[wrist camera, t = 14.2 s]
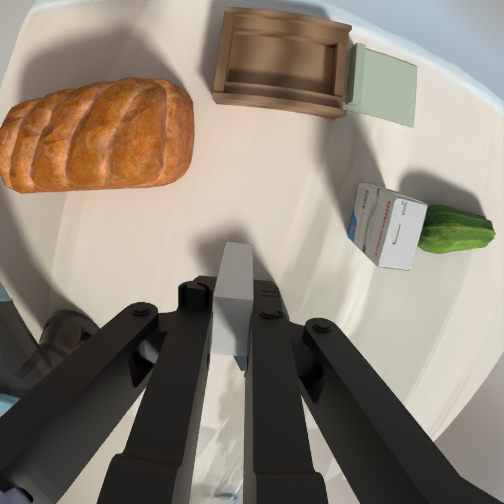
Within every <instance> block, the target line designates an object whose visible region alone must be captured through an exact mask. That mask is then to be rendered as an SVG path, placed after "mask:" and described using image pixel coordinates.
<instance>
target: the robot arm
mask: <svg viewBox="0 0 504 504" xmlns="http://www.w3.org/2000/svg"><path fill="white" fill-rule="evenodd" d="M210 350H211V353H215V354H224V355H235V356H247V357H246V365H245V373H244V377H245V421H244V475H243V504H328V498H327V492H326V487H325V482H324V479H323V476H322V475H321V473H319V472H315V470H314V467H313V463H312V457H311V451H310V445H309V439H308V433H307V427H306V421H305V415H304V410H303V404H302V398H301V395H302V397H303V399H304V401H305V403H306V405H307V407H308V408H309V410H310V412H311V414H312V416H313V418H314V420H315V422H316V424H317V425H318V427H319V429H320V431H321V433H322V435H323V437H324V439H325V440H326V442H327V444H328V446H329V448H330V450H331V452H332V453H333V455H334V457H335V459H336V461H337V463H338V464H339V466H340V468H341V470H342V472H343V474H344V475H345V477H346V479H347V481H348V483H349V485H350V486H351V488H352V490H353V492H354V493H355V495H356V497H357V499H358V501H359V502H360V504H504V503H503V502H501V501H499V500H498V499H496V498H494V497H493V496H491V495H489V494H488V493H486V492H484V491H483V490H481V489H479V488H478V487H476V486H475V485H473V484H471V483H470V482H468V481H467V480H465V479H464V478H462V477H460V475H459V474H458V473H457V471H456V470H455V469H454V468H453V466H452V465H451V464H450V463H449V461H448V460H447V459H446V457H445V456H444V455H443V454H442V452H441V451H440V450H439V449H438V447H437V446H436V445H435V444H434V442H433V441H432V440H431V439H430V437H429V436H428V435H427V434H426V432H425V431H424V430H423V429H422V427H421V426H420V425H419V424H418V422H417V421H416V420H415V419H414V418H413V416H412V415H411V414H410V413H409V411H408V410H407V409H406V408H405V406H404V405H403V404H402V403H401V402H400V400H399V399H398V398H397V397H396V396H395V394H394V393H393V392H392V391H391V389H390V388H389V387H388V386H387V385H386V383H385V382H384V381H383V380H382V379H381V377H380V376H379V375H378V374H377V372H376V371H375V370H374V369H373V368H372V366H371V365H370V364H369V363H368V362H367V360H366V359H365V358H364V357H363V356H362V354H361V353H360V352H359V351H358V350H357V349H356V347H355V346H354V345H353V344H352V343H351V341H350V340H349V339H348V338H347V337H346V335H345V334H344V333H343V332H342V331H341V330H340V328H339V327H338V326H337V325H336V324H335V323H334V322H332V321H330V320H328V319H324V318H312V319H309V320H308V321H306V324H305V326H302V325H298V324H295V323H292V322H290V321H288V320H287V318H286V315H285V313H284V312H283V311H282V310H281V308H280V302H279V297H278V291H277V286H276V285H275V284H274V283H273V282H272V281H260V280H253V254H252V244H243V243H233V242H226V245H225V249H224V253H223V257H222V261H221V265H220V269H219V274H218V277H210V276H198V277H197V278H195V279H194V280H193V281H188V282H184V283H182V284H180V285H179V286H178V308H177V310H176V311H173V312H168V313H158V308H157V307H156V306H155V305H153V304H150V303H145V302H137V303H134V304H131V305H129V306H127V307H126V308H125V309H124V310H122V311H121V312H120V313H119V314H117V315H116V316H115V317H114V318H113V319H111V320H110V321H109V322H108V323H107V324H105V325H104V326H103V327H102V328H101V329H99V328H98V327H97V326H96V325H95V324H94V323H93V322H92V321H90V320H89V319H88V318H86V317H85V316H83V315H81V314H79V313H77V312H74V311H69V310H61V311H58V312H56V313H54V314H53V315H52V316H51V317H50V318H49V319H48V321H47V322H46V324H45V326H44V330H43V332H42V335H41V338H40V341H39V344H38V343H37V341H36V340H35V338H34V337H33V335H32V334H31V332H30V331H29V329H28V327H27V326H26V324H25V322H24V321H23V319H22V317H21V316H20V314H19V312H18V310H17V309H16V307H15V305H14V303H13V299H12V298H10V297H9V295H8V293H7V292H6V290H5V288H4V286H3V285H2V283H1V282H0V413H1V415H2V416H1V417H0V504H56V503H57V502H58V501H59V500H60V498H61V497H62V496H63V495H64V493H65V492H66V491H67V490H68V488H69V487H70V486H71V485H72V483H73V482H74V481H75V479H76V478H77V476H78V475H79V474H80V473H81V471H82V470H83V469H84V467H85V466H86V465H87V464H88V462H89V461H90V460H91V458H92V457H93V456H94V454H95V453H96V452H97V450H98V449H99V448H100V446H101V445H102V444H103V443H104V441H105V440H106V438H107V437H108V436H109V435H110V433H111V432H112V431H113V429H114V428H115V427H116V426H117V424H118V423H119V422H120V420H121V419H122V417H123V416H124V415H125V414H126V412H127V411H128V410H129V409H130V407H131V406H132V405H133V403H134V402H135V401H136V399H137V398H138V397H139V395H140V394H141V393H142V392H143V390H144V389H145V388H146V390H145V392H144V395H143V398H142V401H141V403H140V406H139V409H138V412H137V414H136V417H135V420H134V423H133V426H132V429H131V432H130V435H129V438H128V440H127V443H126V446H125V449H124V451H123V453H121V454H116V455H115V456H114V457H113V458H112V460H111V462H110V464H109V467H108V471H107V473H106V476H105V479H104V482H103V485H102V488H101V491H100V494H99V497H98V501H97V504H189V499H190V492H191V484H192V477H193V469H194V462H195V455H196V447H197V441H198V434H199V428H200V421H201V414H202V408H203V401H204V395H205V389H206V382H207V376H208V370H209V364H210ZM146 386H147V387H146Z"/></svg>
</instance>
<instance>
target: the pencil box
mask: <svg viewBox="0 0 504 504" xmlns="http://www.w3.org/2000/svg"><path fill="white" fill-rule="evenodd" d="M224 12H225V13H224V19H223V25H222V32H221V38H220V45H219V52H218V59H217V66H216V74H215V82H214V90H213V94H212V99H213V100H214V101H215V103H216V104H223V105H237V106H249V107H259V108H268V109H276V110H284V111H291V112H298V113H304V114H310V115H316V116H322V117H327V118H332V119H336V118H339V117H342V116H345V115H346V110H343V103H344V98H343V93H344V82H345V68H346V53H347V45H348V33H349V32H350V31H351V30H352V26H351V25H347V24H344V23H339V22H335V21H331V20H326V19H322V18H317V17H312V16H306V15H300V14H294V13H288V12H280V11H272V10H263V9H252V8H236V7H225V10H224Z"/></svg>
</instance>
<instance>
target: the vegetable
mask: <svg viewBox="0 0 504 504" xmlns="http://www.w3.org/2000/svg"><path fill="white" fill-rule="evenodd" d="M492 226H493V225H492V222H491V221H489V220H487V219H486V218H485V217H483V216H479V215H473V214H469V213H465V212H462V211H459V210H457V209H454V208H451V207H448V206H441V205H433V206H428V207H427V210H426V214H425V219H424V223H423V226H422V230H421V234H420V238H419V241H418V245H417V246H418V247H420V248H421V249H422V250H424V251H427V252H431V253H436V254H439V253H448V252H452V251H461V250H469V249H474V248H482V247H486V246H487V245H488V243H489V242H491V241H492V240H493V239H494V236H495V235H496V233H495V232H494V229H493V227H492Z"/></svg>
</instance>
